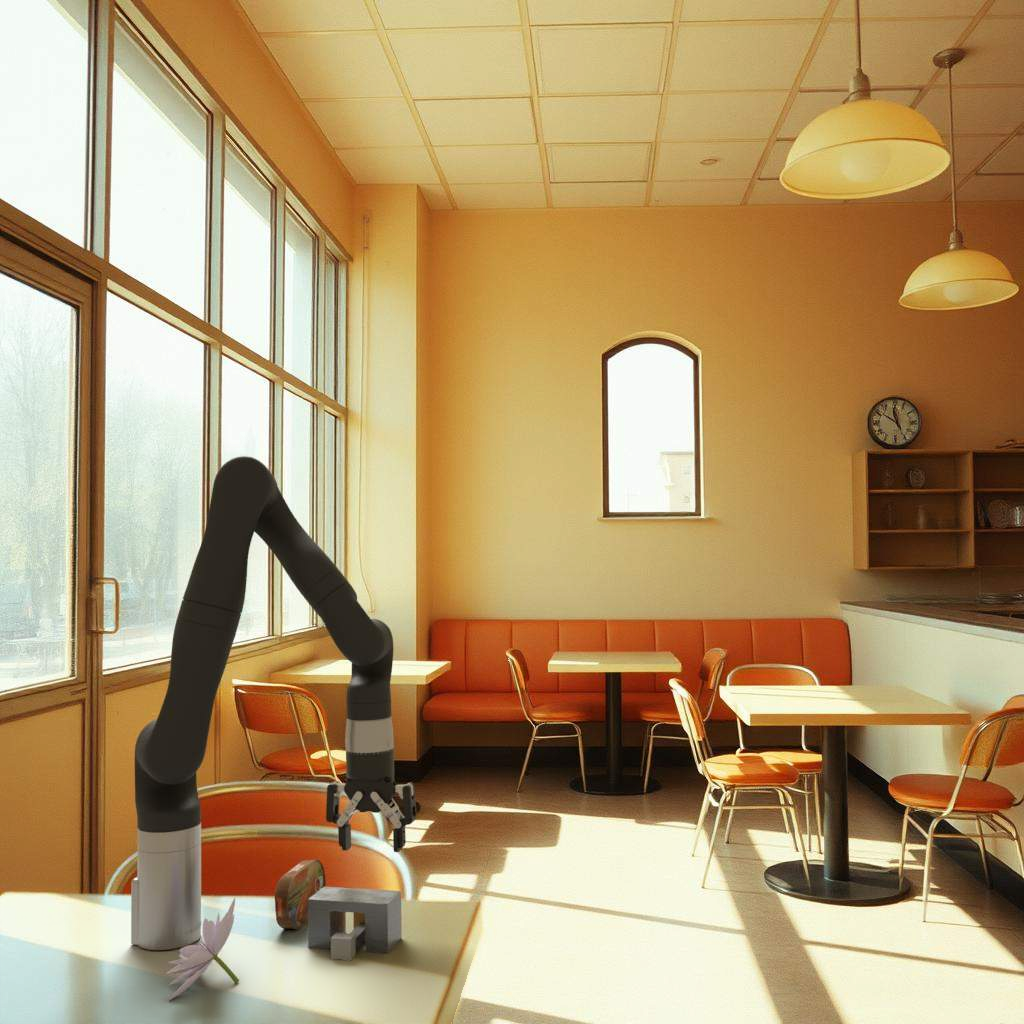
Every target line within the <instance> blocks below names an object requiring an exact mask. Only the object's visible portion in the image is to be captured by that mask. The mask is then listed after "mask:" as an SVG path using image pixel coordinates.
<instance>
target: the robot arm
mask: <svg viewBox="0 0 1024 1024" xmlns="http://www.w3.org/2000/svg"><path fill="white" fill-rule="evenodd" d="M255 533H256V535H258V537H259V538H260V539H261V540H262V541H263V542H264V543H265V544H266V546H267V547H268V548H269V549H270V550H271V552H272V553H273V555H274V556H275V557H276V560H278V561H279V564H280V565H281V566H282V568H283V569H284V571H285V573H286V574H287V576H288V577H289V579H290V580H291V582H292V584H294V586H295V587H296V589H297V590H298V591H299V593H300V595H301V596H302V597H303V598H304V599H305V601H306V603H308V604H309V606H310V607H311V608H312V610H314V612H315V613H316V615H318V617H319V618H320V620H322V623H323V625H324V626H325V628H326V630H327V632H328V634H329V635H330V638H331V639H332V640H333V642H334V645H335V646H336V647H337V649H338V651H339V652H341V654H342V655H343V656H344V658H346V659H347V660H348V661H349V662H350V663H351V676H350V681H349V683H348V685H347V690H346V700H345V701H346V723H345V724H346V727H345V739H344V746H345V776H346V782H345V783H342V782H339V781H338V780H335V781H333V782H330V784H328V785H327V787H326V804H325V805H326V807H325V809H326V811H325V820H326V822H327V823H334V824H335V825H336V826H337V827H338V828H337V829H338V830H337V831H338V832H337V833H338V845H339V847H340V848H341V850H342V851H343V852H344V851H345V852H346V851H349V850H350V849H351V847H352V825H351V823H349V822H350V821H351V819H352V818H353V816H354V815H355V813H356V812H357V811H359V813H367V812H371V813H375V814H376V813H377V814H378V813H381V812H382V814H383V815H384V816H385V818H387V819H389V821H390V823H392V825H393V829H392V831H393V832H392V835H393V841H392V843H393V852H394V853H400V852H401V851H402V849H403V848H404V847H405V846H406V842H407V841H406V838H407V837H406V826H408V825H411V824H413V822H415V821H416V820H417V818H418V814H417V813H418V812H417V803H416V802H417V801H416V790H415V784H414V783H413V782H412V781H411V782H408V783H406V784H397V782H396V781H395V747H394V746H395V745H394V744H395V743H394V742H395V741H394V726H393V721H392V693H391V681H392V672H393V662H394V639H393V634H392V631H391V629H390V627H389V626H388V624H386V623H385V622H384V621H382V620H380V619H377V618H370V615H368V613H367V612H366V610H364V608H363V607H362V605H361V604H360V603H359V601H358V595H357V592H356V591H355V588H354V587H353V585H352V584H351V583H350V582H349V581H348V579H347V578H346V576H344V574H343V573H342V572H341V570H340V569H339V568H338V567H337V566H336V564H335V563H334V562H333V560H331V559H332V558H330V557H329V556H328V555H327V554H326V553H325V551H323V549H322V548H321V547H320V546H319V545H318V544H317V543H316V542H315V540H313V538H311V536H310V535H309V534H308V533H307V531H306V530H305V529H304V527H302V525H301V524H300V523H299V521H298V520H297V518H296V517H295V515H294V513H293V512H292V510H291V509H290V507H289V505H288V504H287V502H286V500H285V498H284V496H283V494H282V493H281V490H280V489H279V486H278V483H277V481H276V478H275V476H274V475H273V473H272V472H271V471H270V469H269V468H268V467H267V466H266V465H265V464H264V463H263V462H261V461H260V460H259V459H257V458H255V457H253V456H249V455H239V456H235V457H233V458H230V459H229V460H227V461H226V462H224V464H223V465H221V467H220V468H219V470H218V471H217V473H216V475H215V478H214V481H213V485H212V490H211V496H210V503H209V507H208V514H207V520H206V525H205V529H204V533H203V539H202V541H201V543H200V546H199V550H198V551H197V555H196V557H195V560H194V563H193V566H192V570H191V573H190V575H189V578H188V582H187V585H186V587H185V588H186V589H185V591H184V594H183V597H182V600H181V604H180V607H179V610H178V614H177V617H176V621H175V625H174V629H173V635H172V643H171V654H170V670H169V677H168V678H169V679H168V683H167V684H168V685H167V689H166V693H165V695H164V699H163V702H162V705H161V707H160V710H159V713H158V716H157V718H156V719H153V720H152V721H150V722H149V723H148V724H146V725H145V726H144V727H142V730H141V731H140V732H139V734H138V736H137V738H136V742H135V747H134V800H135V801H134V802H135V803H134V804H135V810H136V818H137V819H136V822H137V825H136V826H137V840H136V841H137V846H136V847H137V865H136V866H137V872H136V873H137V875H136V877H134V878H132V880H131V882H130V883H131V885H130V886H131V889H130V890H131V894H130V895H131V896H130V899H131V901H130V902H131V904H130V909H131V910H130V914H131V915H130V916H131V917H130V919H131V921H130V924H131V925H130V926H131V928H130V944H131V945H136V946H138V947H139V948H141V949H144V950H151V951H165V950H166V951H168V950H173V949H174V950H175V949H179V948H183V947H185V946H189V945H192V944H193V943H195V942H197V941H198V940H199V939H201V936H202V806H201V802H200V798H199V792H198V787H197V786H198V784H197V779H198V778H197V772H198V770H199V769H200V767H201V766H202V764H203V762H204V759H205V755H206V752H207V746H208V738H209V734H210V733H209V731H210V726H211V722H212V721H211V720H212V714H213V709H214V704H215V700H216V696H217V692H218V690H219V686H220V684H221V681H222V678H223V675H224V672H225V671H226V670H225V669H226V666H227V663H228V660H229V656H230V654H231V650H232V647H233V644H234V640H235V638H236V635H237V632H238V631H237V630H238V627H239V623H240V620H241V616H242V613H243V609H244V605H245V599H246V592H247V591H246V590H247V580H248V562H249V552H250V549H251V548H250V547H251V545H252V544H251V543H252V540H253V536H254V534H255ZM343 793H345V795H346V796H347V798H348V800H349V803H348V804H347V805H346V807H345V808H344V810H343V812H342V813H340V797H341V796H342V795H343ZM396 793H398V796H399V798H400V799H401V800H402V801H403V813H402V812H401V810H400V807H399V805H398V803H396V801H395V800H394V799H393V798H394V796H395V795H396Z"/></svg>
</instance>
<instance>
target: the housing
mask: <svg viewBox="0 0 1024 1024" xmlns="http://www.w3.org/2000/svg"><path fill="white" fill-rule="evenodd" d="M353 912H354V913H365V940H364V941H365V943H364V944H365V950H364V951H365V953H367V952H368V953H377V954H378V953H380V954H381V953H382V954H389V953H390V952H391V950H393V948H394V947H395V946H396V945H397V944H398V943H399V942H400V940H401V939H402V891H401V890H391V889H389V890H388V889H387V890H386V889H372V888H371V889H369V888H352V887H341V886H339V887H337V886H325V887H323V888H322V889H320V890H319V891H318V892H317V893H315V894H314V895H313V896H311V897H310V898H309V899H308V921H307V947H308V948H309V947H311V948H312V949H323V948H324V950H331V949H330V948H331V937H332V936H333V935H334V934H335V933H343V934H347V929H346V928H347V927H346V924H347V921H346V920H347V919H346V915H347V914H346V913H353ZM313 947H314V948H313Z"/></svg>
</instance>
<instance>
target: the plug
mask: <svg viewBox="0 0 1024 1024" xmlns="http://www.w3.org/2000/svg"><path fill="white" fill-rule="evenodd" d="M352 913H353V918H352V919H353V930H351V932H350V933H346V934H343V933H335V934H334V935H333V936H332V937H331V949H330V960H332V959H343V960H342V961H348V960H351V959H352V960H353V959H354V958H355V957H356V950H357V949H358V948H359V947H360V946H361V945H362V943H363V942H364V941H365V913H354V912H352ZM360 944H361V945H360ZM352 960H351V961H352Z"/></svg>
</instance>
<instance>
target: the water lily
mask: <svg viewBox="0 0 1024 1024" xmlns="http://www.w3.org/2000/svg"><path fill="white" fill-rule="evenodd" d="M235 905H236V897H234V898H233V900H232V901H231V904H230V905H229V909H228V911H227V912H226V913H225V914H224V916H223V917H222V919H221V917H220V913H219V912H218V913H217V917H216V921H215V922H214V921H213V920H208V919H207V918H203V919H204V920H203V922H202V927H201V934H202V937H203V940H204V941H202V940H200V942H201V943H202V944H201V943H199V945H198V944H189V945H186V946H183V947H180V949H179V954H178V957H179V958H180V959H176V960H171V961H168V962H167V964H172V965H174V964H175V965H176V966H174V967H173V968H170V970H169V971H167V972H166V974H179V973H182V974H181V975H179V976H178V977H177V978H176V979H174V980H172V981H171V982H170V983H169V984H168V986H170V985H174V984H176V983H179V982H182V981H183V980H185V979H187V978H188V979H187V980H185V982H183V983H182V985H180V986H179V988H178V989H177V990H176V991H175V992H174V993H173V995H172V996H171V997H170V998H169V999H170V1000H168V1002H170V1001H171V1000H173V999H174V998H176V997H177V996H179V995H181V994H182V993H183V992H184V991H185V990H187V989H188V988H189V987H191V985H192V984H193V983H195V982H196V981H197V980H198V979H199V978H200V977H201V975H203V973H204V972H206V970H207V969H208V968H209V966H210V965H211V964H212V962H213V961H215V962H216V963H217V964H218V965H219V966H220V967H221V968H222V969H223V971H224V972H225V973H226V974H227V975H228V976H229V977H230V979H231V980H232V981H233V982H234V984H235V985H236V984H238V982H240V979H239V978H238V976H237V975H236V974H235V973H234V972H233V970H232V969H230V967H229V966H228V965H227V964H226V963H225V962H224V961H223V960H222V959H221V958H220V957H219V956H218V955H219V954H220V952H221V951H222V949H223V947H224V946H225V944H226V942H227V940H228V938H229V936H230V934H231V931H232V929H233V924H234V919H235V913H234V911H235Z"/></svg>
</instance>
